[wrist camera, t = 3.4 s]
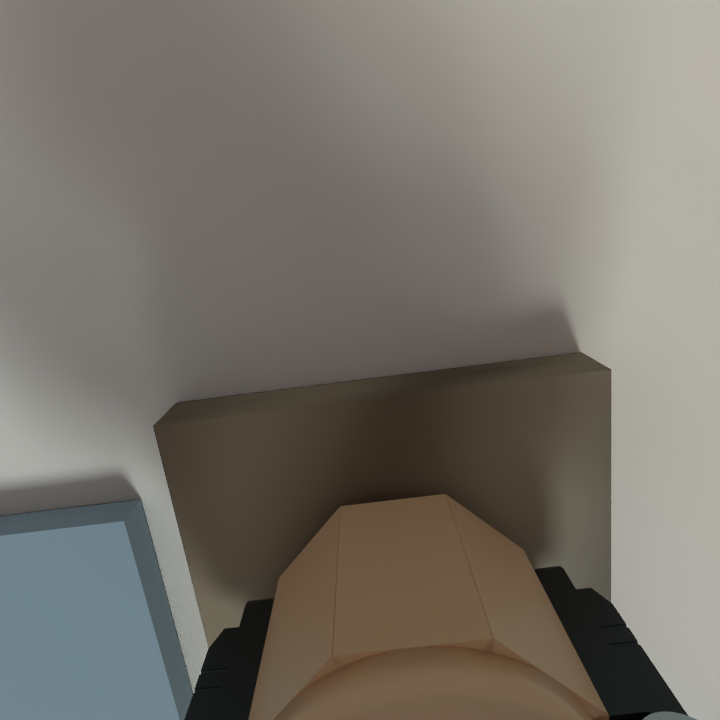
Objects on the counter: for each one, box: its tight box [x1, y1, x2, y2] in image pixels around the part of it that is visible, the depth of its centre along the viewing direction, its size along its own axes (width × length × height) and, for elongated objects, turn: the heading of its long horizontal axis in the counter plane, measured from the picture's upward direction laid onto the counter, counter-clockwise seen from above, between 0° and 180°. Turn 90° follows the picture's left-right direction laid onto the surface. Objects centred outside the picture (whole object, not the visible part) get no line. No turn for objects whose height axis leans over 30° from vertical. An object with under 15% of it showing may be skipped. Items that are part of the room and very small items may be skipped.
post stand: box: [153, 352, 611, 647], centre depth 11 cm, size 10×10×6 cm
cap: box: [248, 494, 609, 720], centre depth 10 cm, size 6×6×5 cm
